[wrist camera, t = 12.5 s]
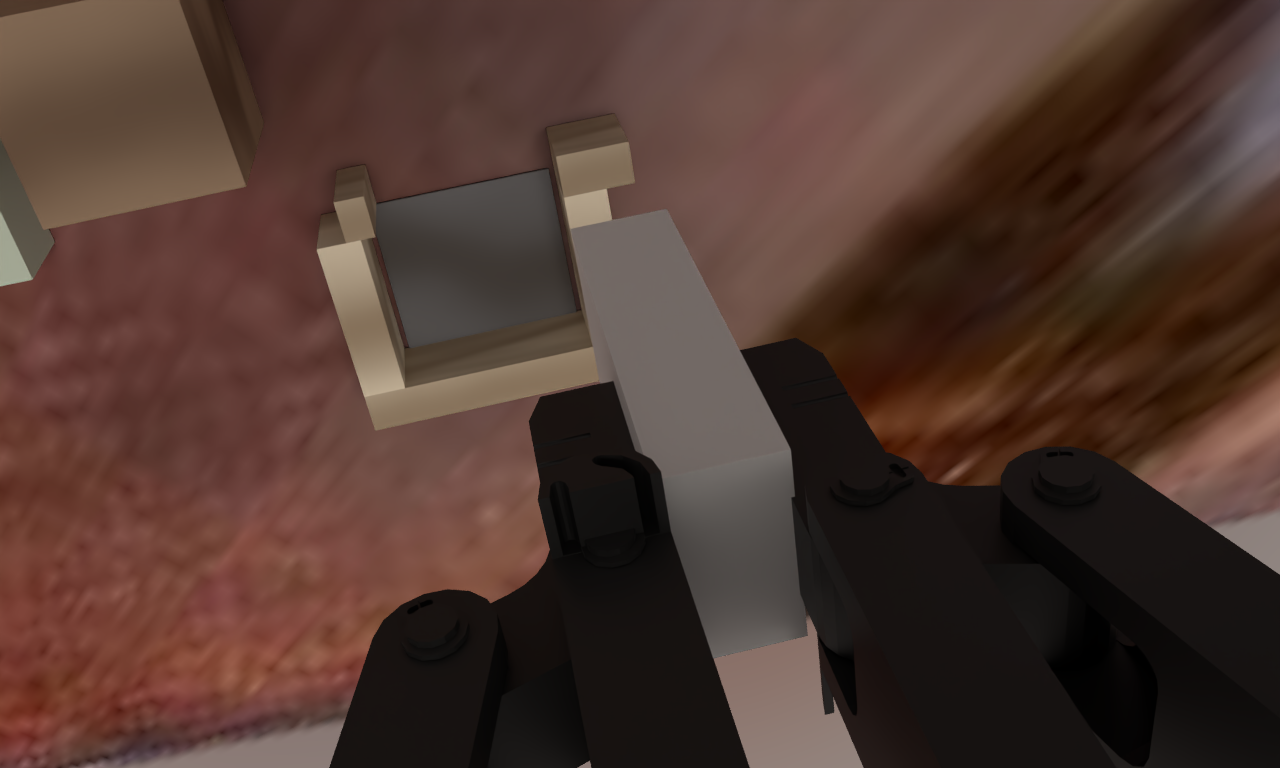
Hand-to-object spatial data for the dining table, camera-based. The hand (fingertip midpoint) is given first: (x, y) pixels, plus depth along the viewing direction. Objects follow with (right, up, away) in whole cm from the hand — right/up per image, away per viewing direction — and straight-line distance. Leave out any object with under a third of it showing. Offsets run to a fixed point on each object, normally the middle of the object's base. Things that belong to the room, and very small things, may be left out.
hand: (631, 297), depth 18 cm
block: (-16, +9, +20) cm, 27 cm away
